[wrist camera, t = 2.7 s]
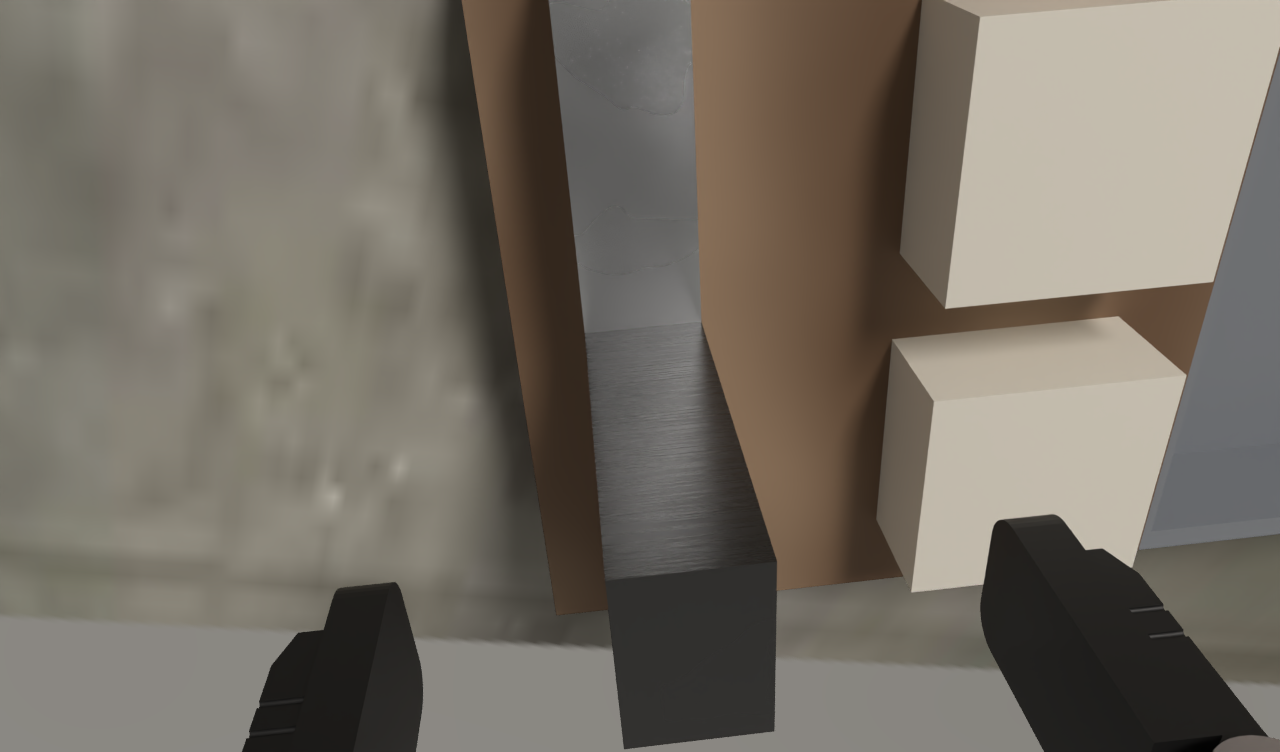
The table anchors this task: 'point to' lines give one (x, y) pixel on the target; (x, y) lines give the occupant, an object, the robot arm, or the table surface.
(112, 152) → the table surface
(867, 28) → the walnut plate
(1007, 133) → the cream tile
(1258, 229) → the box
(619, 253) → the bar
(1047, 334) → the cream tile
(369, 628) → the robot arm
